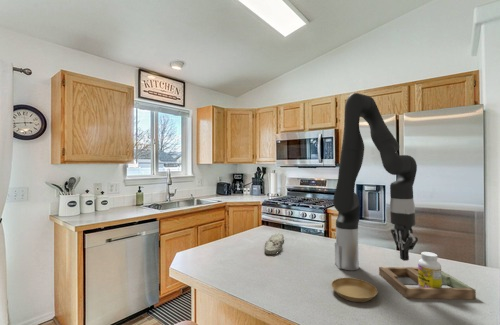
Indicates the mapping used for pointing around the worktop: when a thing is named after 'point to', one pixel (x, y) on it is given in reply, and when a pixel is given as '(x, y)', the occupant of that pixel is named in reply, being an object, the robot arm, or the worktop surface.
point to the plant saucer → (354, 289)
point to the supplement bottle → (429, 271)
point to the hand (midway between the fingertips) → (404, 259)
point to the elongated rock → (274, 244)
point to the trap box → (410, 276)
